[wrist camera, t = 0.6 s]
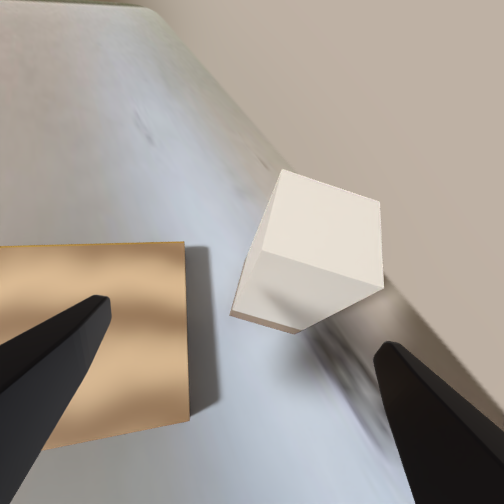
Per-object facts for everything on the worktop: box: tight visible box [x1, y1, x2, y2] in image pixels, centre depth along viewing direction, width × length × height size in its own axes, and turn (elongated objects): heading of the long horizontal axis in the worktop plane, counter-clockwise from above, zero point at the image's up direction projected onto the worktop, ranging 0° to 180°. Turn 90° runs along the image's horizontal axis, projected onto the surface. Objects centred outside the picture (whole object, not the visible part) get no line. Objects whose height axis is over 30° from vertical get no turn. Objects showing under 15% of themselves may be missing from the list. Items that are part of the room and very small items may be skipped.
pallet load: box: [229, 169, 384, 334], centre depth 19 cm, size 6×6×13 cm
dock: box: [0, 242, 190, 451], centre depth 19 cm, size 14×16×2 cm
